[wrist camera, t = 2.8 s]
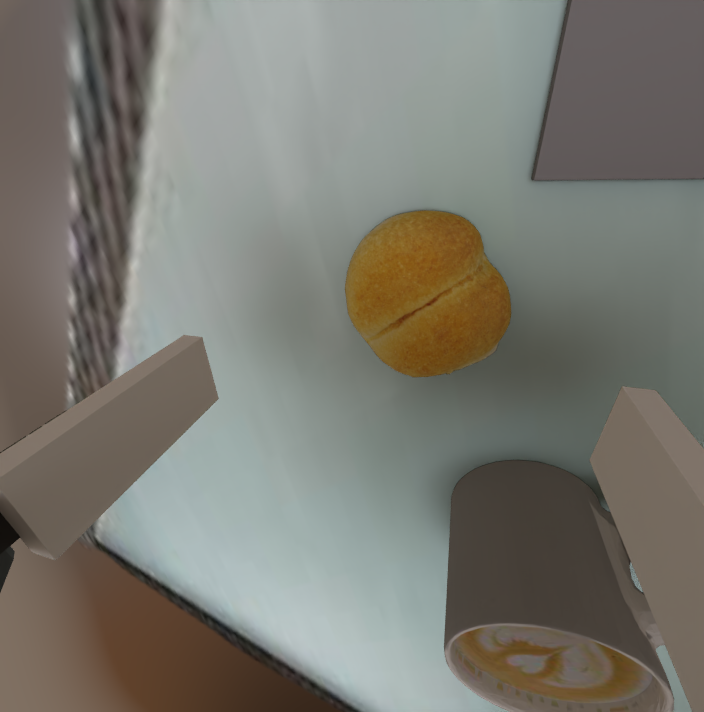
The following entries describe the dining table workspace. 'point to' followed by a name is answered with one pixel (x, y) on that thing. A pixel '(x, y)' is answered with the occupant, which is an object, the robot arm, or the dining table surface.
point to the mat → (626, 93)
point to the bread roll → (426, 294)
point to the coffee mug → (546, 598)
